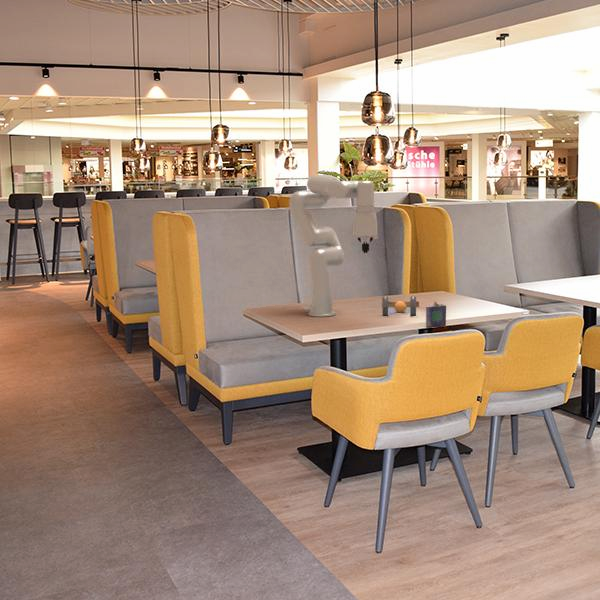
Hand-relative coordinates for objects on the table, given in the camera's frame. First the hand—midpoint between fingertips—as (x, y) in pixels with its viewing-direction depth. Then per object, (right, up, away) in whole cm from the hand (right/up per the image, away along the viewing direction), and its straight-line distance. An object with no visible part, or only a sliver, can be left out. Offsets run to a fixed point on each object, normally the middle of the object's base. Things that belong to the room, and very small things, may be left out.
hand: (365, 252), depth 342 cm
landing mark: (+19, -26, +35) cm, 47 cm away
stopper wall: (+21, -24, +48) cm, 58 cm away
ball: (+19, -24, +30) cm, 42 cm away
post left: (+11, -28, +22) cm, 37 cm away
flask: (+29, -32, -6) cm, 44 cm away
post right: (+23, -28, +20) cm, 42 cm away
